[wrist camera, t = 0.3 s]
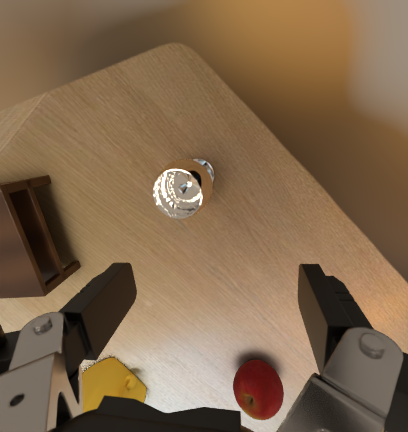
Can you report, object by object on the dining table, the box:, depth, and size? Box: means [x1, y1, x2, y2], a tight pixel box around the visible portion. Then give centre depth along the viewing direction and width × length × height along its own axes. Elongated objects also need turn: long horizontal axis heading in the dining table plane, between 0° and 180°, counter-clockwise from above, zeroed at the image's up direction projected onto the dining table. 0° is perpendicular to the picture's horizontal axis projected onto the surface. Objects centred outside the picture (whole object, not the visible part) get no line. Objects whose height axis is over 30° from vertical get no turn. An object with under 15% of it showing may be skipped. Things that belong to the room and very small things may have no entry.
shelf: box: [0, 175, 80, 298], centre depth 36 cm, size 16×14×8 cm
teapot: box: [82, 357, 146, 413], centre depth 44 cm, size 20×12×12 cm, turn 130°
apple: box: [233, 360, 284, 420], centre depth 38 cm, size 8×8×8 cm
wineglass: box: [153, 159, 214, 219], centre depth 27 cm, size 6×6×12 cm
